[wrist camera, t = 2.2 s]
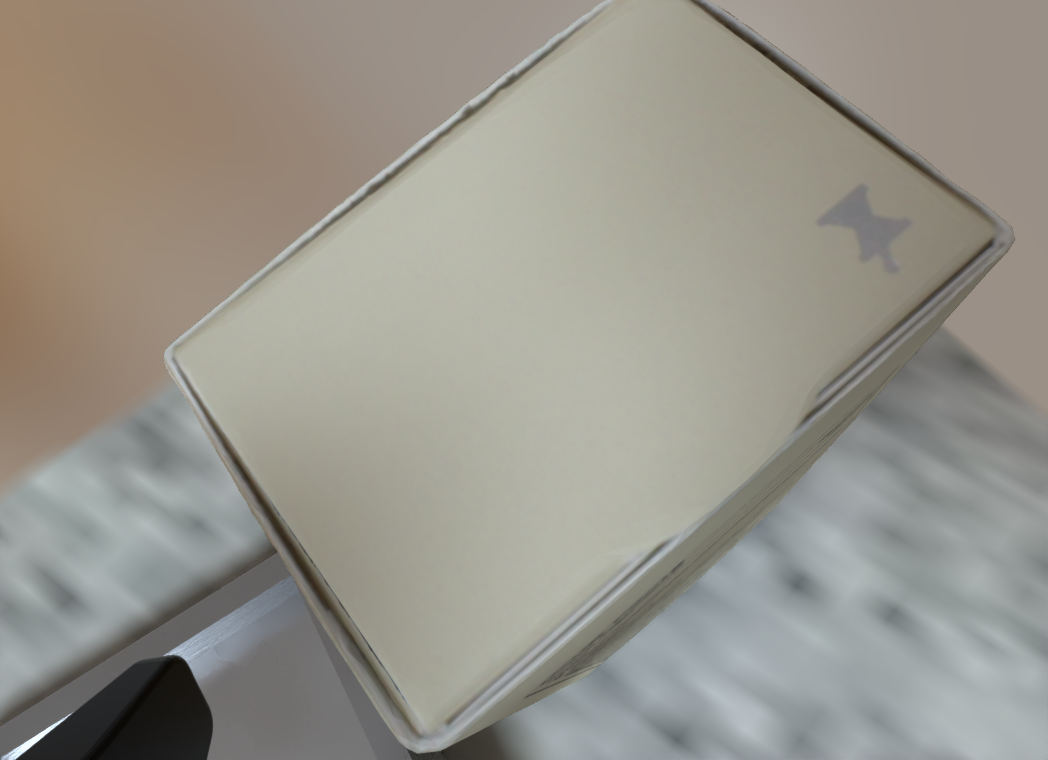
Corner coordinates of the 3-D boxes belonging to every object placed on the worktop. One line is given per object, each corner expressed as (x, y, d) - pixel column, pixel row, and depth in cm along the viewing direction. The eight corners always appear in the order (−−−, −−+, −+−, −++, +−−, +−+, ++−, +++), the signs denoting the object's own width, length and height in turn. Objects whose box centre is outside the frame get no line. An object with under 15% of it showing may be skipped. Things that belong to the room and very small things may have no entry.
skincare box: (653, 370, 19) (677, -76, 7) (785, 504, 17) (1072, 206, 6) (448, 541, 18) (124, 340, 7) (567, 697, 17) (409, 781, 5)
